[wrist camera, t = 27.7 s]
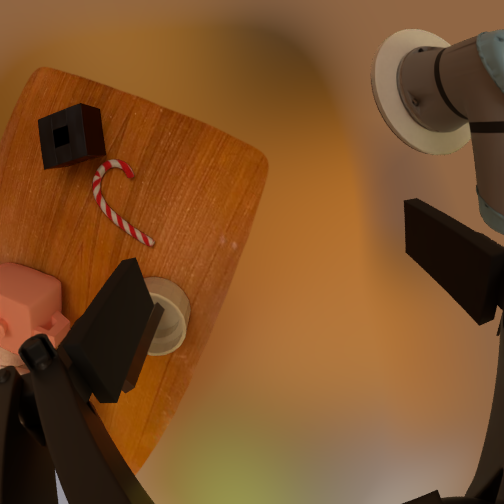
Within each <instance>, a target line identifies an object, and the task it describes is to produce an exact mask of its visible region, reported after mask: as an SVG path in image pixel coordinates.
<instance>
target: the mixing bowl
mask: <svg viewBox="0 0 504 504" xmlns="http://www.w3.org/2000/svg"><path fill="white" fill-rule="evenodd" d="M144 281H145V283H146V286H147V288H148V291H149V293H150V296H151V298H152V301H153V303H154V304H155V303H157V302H158V303H159V304H160V305H161V306H162V307H163V308H164V309H165V310H164V313H163V315H162V317H161V320H160V322H159V325H158V327H157V330H156V333H155V335H154V338H153V340H152V343H151V345H150V348H149V350H148V353H147V354H148V355H153V356H158V355H166V354H168V353H171V352H173V351H175V350H176V349H177V348H178V347H179V346H181V344H182V342H183V340H184V339H185V336H186V332H187V327H188V323H189V319H190V312H191V309H190V304H189V300H188V298H187V296H186V295H185V293H184V291H183V290H182V289H181V288H180V287H178V286H177V285H176V284H175V283H173V282H171V281H169V280H167V279H164V278H158V277H150V278H144Z"/></svg>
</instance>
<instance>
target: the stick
mask: <svg viewBox="0 0 504 504" xmlns="http://www.w3.org/2000/svg"><path fill="white" fill-rule="evenodd" d="M164 310H165V309H164V308H163V307H162V306H161V305H160V304H159V303H158V302H157V303H155V304H154V308H153V310H152V313H151V315H150V318H149V320H148V322H147V325H146V327H145V330H144V332H143V335H142V337H141V340H140V342H139V345H138V348H137V350H136V353H135V355H134V358H133V361H132V363H131V366H130V368H129V371H128V374H127V376H126V379H125V382H124V385H123V387H122V391H123V392H124V393H127V392H129V391H130V390H132V389H133V388H135V385H136V382H137V380H138V377H139V374H140V372H141V369H142V366H143V364H144V361H145V358H146V356H147V353H148V350H149V348H150V345H151V343H152V340H153V338H154V335H155V333H156V330H157V327H158V325H159V322H160V320H161V317H162V315H163V313H164Z"/></svg>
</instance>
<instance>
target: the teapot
mask: <svg viewBox="0 0 504 504" xmlns="http://www.w3.org/2000/svg"><path fill="white" fill-rule="evenodd" d="M61 310H62V292H61V282H60V281H59V280H57V279H56V278H55V277H54V276H52V275H47V274H44V273H42V272H40V271H37V270H35V269H32V268H29V267H26V266H23V265H19V264H15V263H4V264H1V265H0V347H2V348H4V349H6V350H8V351H10V352H12V353H14V354H17V355H19V354H18V350H19V348H20V346H21V345H22V344H23V343H24V342H25V341H26V340H27V339H29V338H30V337H32V336H34V335H36V334H41V333H43V334H46V335H47V336H48V338H49V340H50V341H51V343H52V345H53V346H54V348H56V346H57V345H58V344H59V343H60V342H61V341H62V340H63V339H64V338H65V336H67V333H68V332H69V330H70V321H69V320H68V319H67V318H65V317H64V316H63V315H62V314H61ZM19 356H20V355H19Z"/></svg>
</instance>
